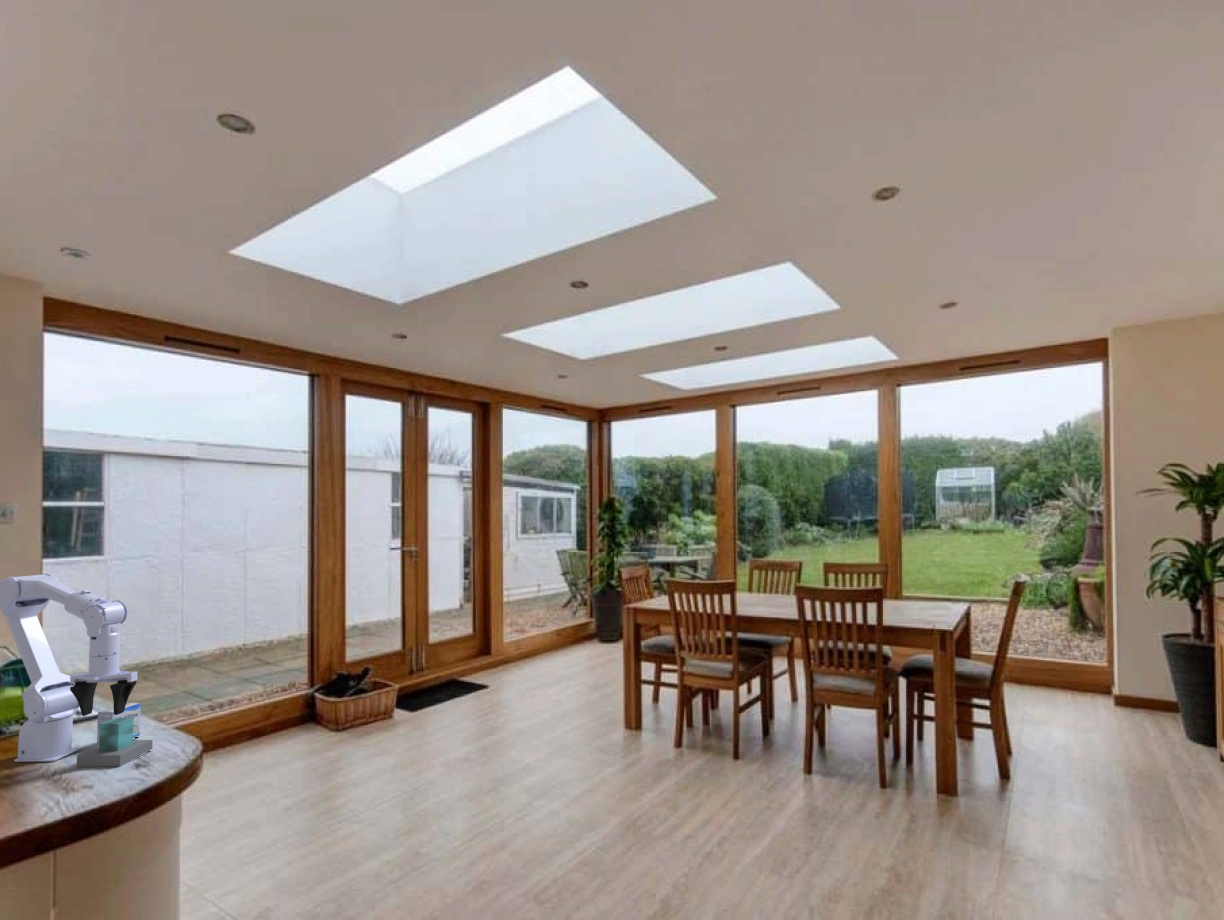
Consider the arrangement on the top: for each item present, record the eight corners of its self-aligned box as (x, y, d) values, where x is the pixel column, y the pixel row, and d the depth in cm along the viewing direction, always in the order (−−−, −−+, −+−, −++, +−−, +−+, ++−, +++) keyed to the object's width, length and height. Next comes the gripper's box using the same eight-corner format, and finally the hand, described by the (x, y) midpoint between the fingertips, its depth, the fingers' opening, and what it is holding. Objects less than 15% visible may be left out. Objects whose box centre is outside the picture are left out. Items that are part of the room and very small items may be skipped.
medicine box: (110, 748, 159) (112, 712, 160) (95, 747, 160) (97, 711, 161) (140, 737, 167) (141, 702, 168) (125, 736, 168) (127, 702, 169)
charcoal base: (76, 766, 148) (77, 755, 148) (111, 750, 158) (111, 740, 158) (119, 766, 147) (120, 755, 148) (152, 750, 157) (152, 739, 158)
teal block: (98, 751, 151) (99, 724, 151) (114, 744, 155) (115, 718, 155) (117, 750, 150) (118, 724, 151) (132, 744, 155) (133, 717, 155)
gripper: (59, 659, 150) (57, 720, 149) (121, 657, 149) (120, 718, 148) (85, 652, 157) (83, 711, 156) (144, 650, 156) (143, 709, 155)
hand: (103, 714), depth 152 cm, fingers open, 7 cm apart
